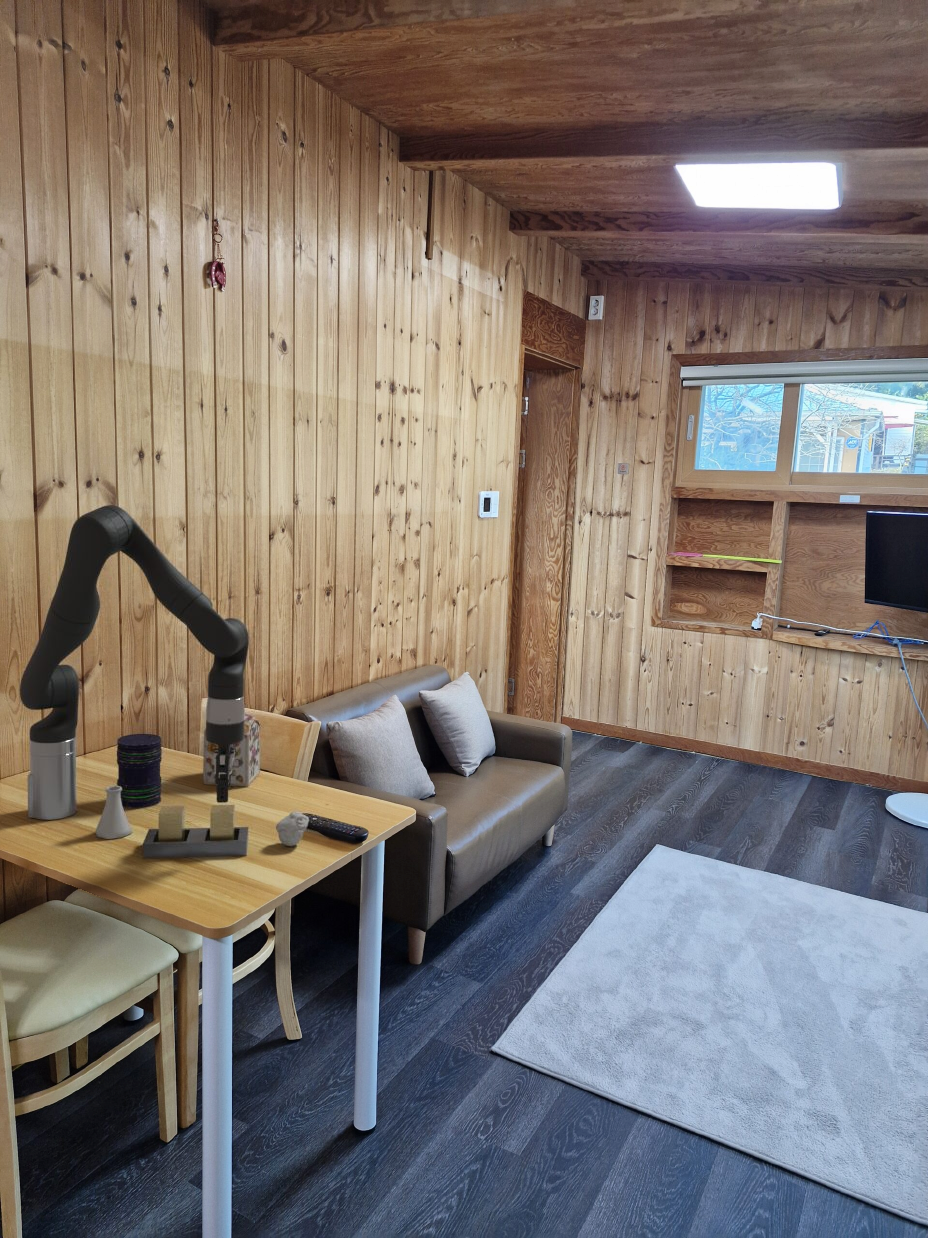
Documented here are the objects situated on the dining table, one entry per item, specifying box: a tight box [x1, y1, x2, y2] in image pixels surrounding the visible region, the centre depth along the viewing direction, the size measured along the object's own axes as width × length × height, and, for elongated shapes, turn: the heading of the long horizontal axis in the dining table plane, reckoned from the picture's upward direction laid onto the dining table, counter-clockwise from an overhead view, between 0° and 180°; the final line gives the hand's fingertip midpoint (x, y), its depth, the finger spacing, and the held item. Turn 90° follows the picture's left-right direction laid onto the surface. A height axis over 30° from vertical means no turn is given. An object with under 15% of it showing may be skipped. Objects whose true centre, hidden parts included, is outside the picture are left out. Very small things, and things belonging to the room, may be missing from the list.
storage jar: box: [116, 733, 163, 809], centre depth 209 cm, size 10×10×15 cm
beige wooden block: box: [209, 804, 236, 841], centre depth 184 cm, size 4×4×8 cm
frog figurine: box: [275, 811, 310, 847], centre depth 188 cm, size 6×7×7 cm
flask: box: [94, 785, 133, 840], centre depth 189 cm, size 7×7×10 cm
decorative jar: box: [202, 713, 261, 788], centre depth 228 cm, size 12×12×18 cm
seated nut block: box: [158, 805, 186, 842], centre depth 182 cm, size 4×4×8 cm
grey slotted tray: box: [142, 826, 249, 859], centre depth 183 cm, size 20×8×3 cm, turn 101°
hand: (223, 794), depth 183 cm, fingers open, 8 cm apart
